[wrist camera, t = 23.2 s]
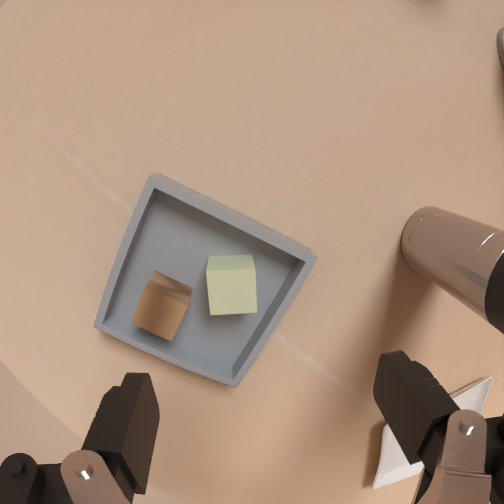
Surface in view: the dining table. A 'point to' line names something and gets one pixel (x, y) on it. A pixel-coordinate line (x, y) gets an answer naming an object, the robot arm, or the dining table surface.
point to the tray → (200, 279)
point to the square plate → (398, 467)
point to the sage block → (231, 284)
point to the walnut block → (162, 305)
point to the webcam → (501, 44)
